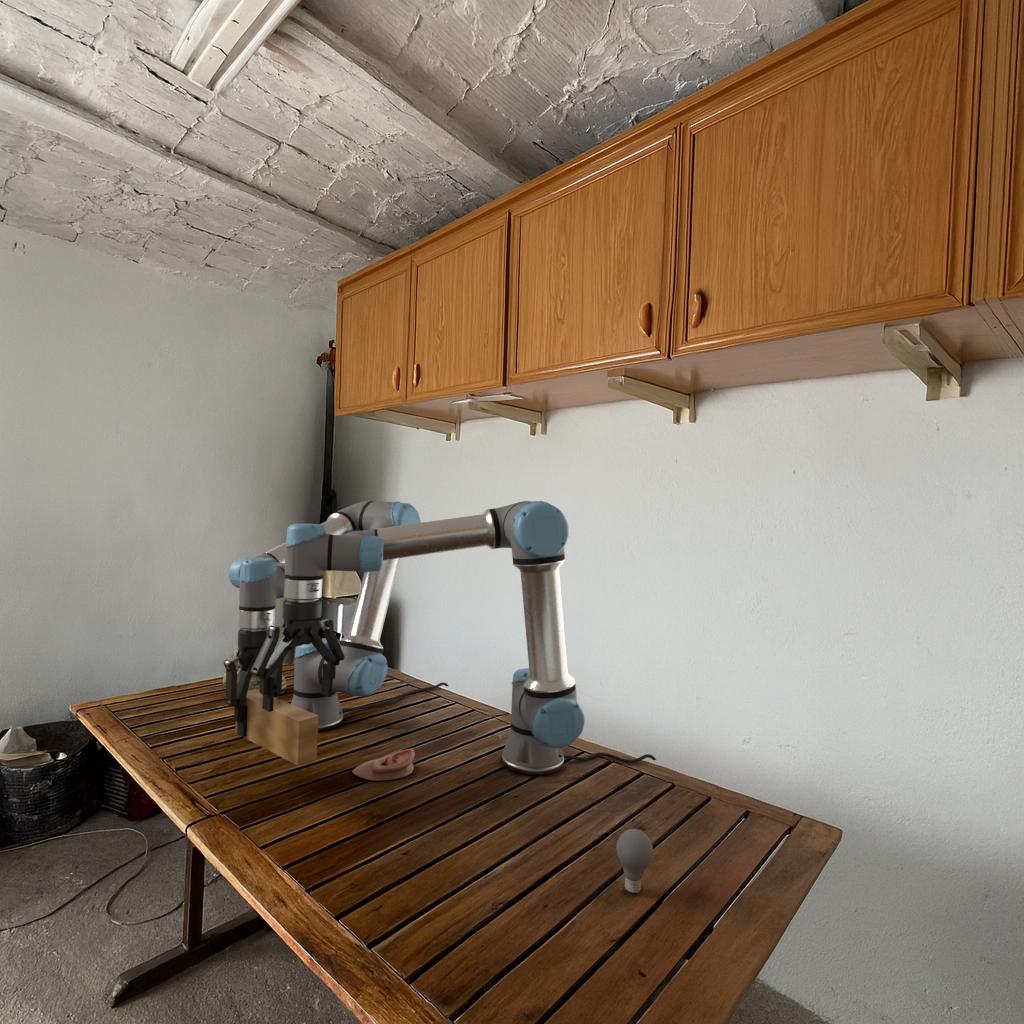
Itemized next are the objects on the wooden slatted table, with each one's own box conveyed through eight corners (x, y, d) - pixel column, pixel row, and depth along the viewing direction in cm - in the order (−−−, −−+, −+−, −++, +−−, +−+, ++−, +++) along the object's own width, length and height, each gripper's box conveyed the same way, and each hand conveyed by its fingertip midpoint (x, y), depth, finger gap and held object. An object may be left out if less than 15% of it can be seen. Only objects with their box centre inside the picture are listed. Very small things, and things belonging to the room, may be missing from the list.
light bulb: (610, 879, 108) (613, 822, 108) (644, 879, 109) (647, 822, 109) (619, 902, 102) (622, 840, 102) (655, 901, 103) (658, 840, 103)
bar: (234, 733, 141) (236, 693, 141) (253, 727, 145) (255, 689, 145) (297, 765, 126) (299, 721, 126) (316, 759, 130) (318, 715, 129)
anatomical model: (346, 759, 143) (368, 741, 154) (346, 777, 143) (367, 757, 154) (402, 767, 140) (420, 748, 152) (401, 785, 140) (419, 764, 152)
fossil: (218, 695, 195) (220, 647, 195) (278, 685, 208) (279, 640, 207) (228, 703, 189) (230, 653, 188) (289, 692, 201) (290, 645, 201)
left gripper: (226, 636, 131) (222, 747, 132) (301, 625, 145) (297, 726, 145) (209, 630, 136) (205, 738, 136) (283, 620, 150) (279, 718, 150)
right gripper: (255, 608, 117) (250, 721, 118) (363, 596, 137) (359, 693, 137) (234, 602, 122) (230, 711, 122) (342, 591, 142) (338, 686, 142)
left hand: (252, 731), depth 141 cm, fingers closed on bar, 4 cm apart
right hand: (298, 702), depth 130 cm, fingers open, 13 cm apart
